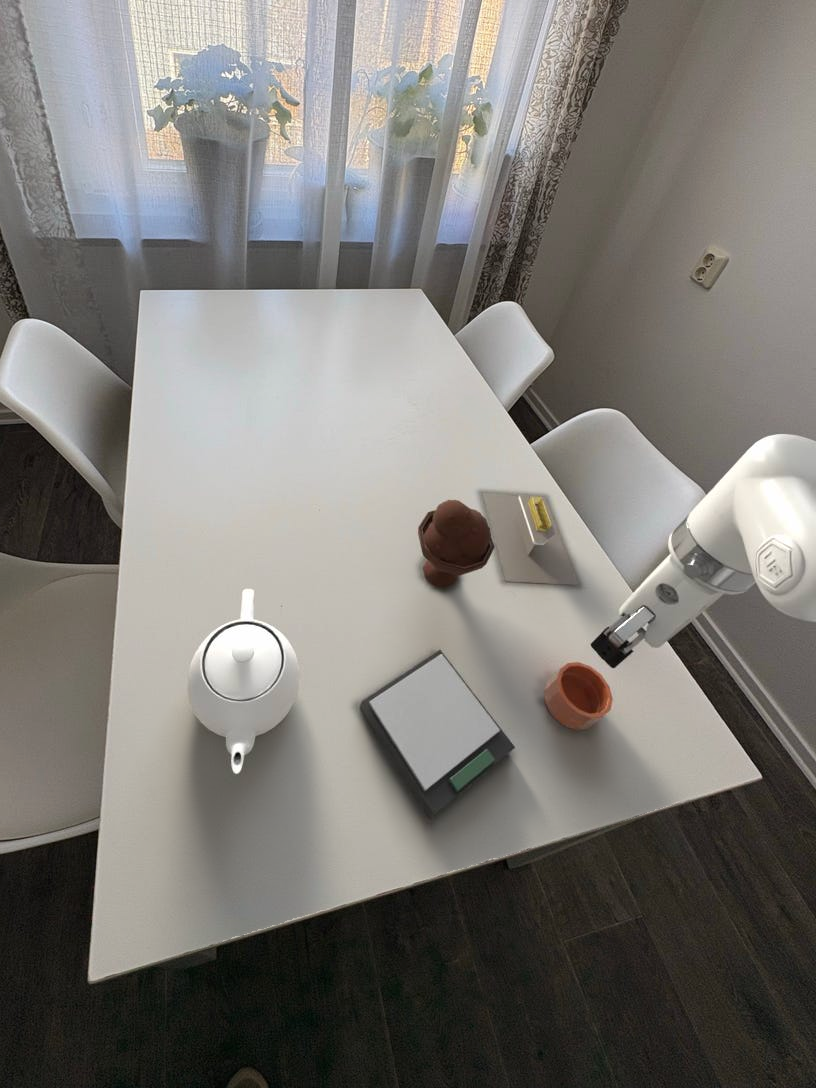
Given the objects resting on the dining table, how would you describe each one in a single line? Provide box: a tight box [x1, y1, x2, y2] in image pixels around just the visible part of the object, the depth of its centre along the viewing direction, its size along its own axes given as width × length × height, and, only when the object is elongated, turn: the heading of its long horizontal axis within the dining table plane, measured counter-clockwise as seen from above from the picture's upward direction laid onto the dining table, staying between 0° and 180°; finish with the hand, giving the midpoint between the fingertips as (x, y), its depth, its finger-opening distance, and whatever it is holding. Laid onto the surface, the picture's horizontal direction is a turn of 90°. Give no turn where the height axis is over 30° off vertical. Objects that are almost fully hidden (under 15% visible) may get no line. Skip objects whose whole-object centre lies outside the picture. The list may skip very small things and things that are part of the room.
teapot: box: [186, 588, 301, 775], centre depth 63 cm, size 22×14×11 cm, turn 4°
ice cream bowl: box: [417, 499, 495, 589], centre depth 78 cm, size 11×11×15 cm
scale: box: [359, 649, 516, 820], centre depth 65 cm, size 14×13×3 cm
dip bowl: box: [543, 661, 614, 731], centre depth 69 cm, size 7×7×5 cm
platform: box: [482, 492, 579, 586], centre depth 88 cm, size 12×18×7 cm, turn 1°
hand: (628, 635), depth 61 cm, fingers open, 9 cm apart
